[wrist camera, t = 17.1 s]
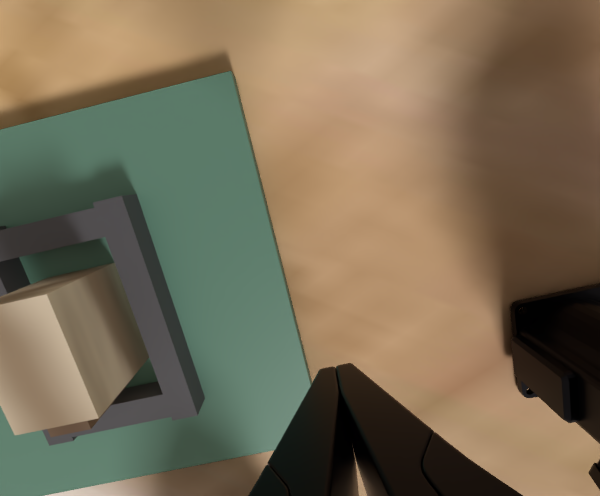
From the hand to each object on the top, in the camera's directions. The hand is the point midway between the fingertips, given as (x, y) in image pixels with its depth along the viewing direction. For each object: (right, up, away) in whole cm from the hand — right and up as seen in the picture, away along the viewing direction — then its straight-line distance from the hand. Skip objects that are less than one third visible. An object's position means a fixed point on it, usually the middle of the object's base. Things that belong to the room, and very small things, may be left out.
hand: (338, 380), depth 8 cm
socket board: (-13, 0, +11) cm, 17 cm away
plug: (-13, -1, +10) cm, 16 cm away
